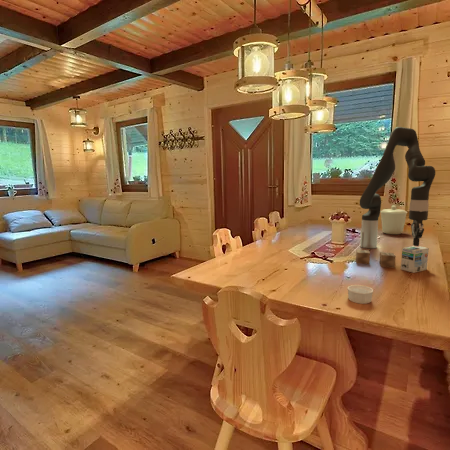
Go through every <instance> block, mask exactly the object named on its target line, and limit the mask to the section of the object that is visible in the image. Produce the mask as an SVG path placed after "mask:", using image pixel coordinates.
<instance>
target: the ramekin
mask: <svg viewBox="0 0 450 450" xmlns="http://www.w3.org/2000/svg"><path fill="white" fill-rule="evenodd" d="M373 293H374V289H373V288H372V287H370V286H367V285H362V284H352V285H349V286H347V297H348V300H350V301H351V303H352V302H353V303H356V304H360V305H362V304H363V305H366V304H367V305H368V304H370V303H371V302H372V300H373Z"/></svg>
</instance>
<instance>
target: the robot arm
mask: <svg viewBox="0 0 450 450" xmlns="http://www.w3.org/2000/svg"><path fill="white" fill-rule="evenodd" d="M386 144H387V145H386V147H385V149H384V152H383V153H382V155H381V158H380V160H379V162H378V164H377V166H376V168H375V170H374V173H373V175H372V176H371V178H370V181H369V183H368V184H367V187H366V188H365V189H364V190H363V193H362V195H361V196H360V199H359V206H360V208H361V209H363V210H368V211H367V212H365V213H363V214H362V216H361V229H360V239H359V242H360V243H359V245H360V248H364V249H376V248H377V246H378V245H377V244H378V231H379V229H378V228H379V217H380V216H381V212H380V211H381V210H382V208H381V207H382V198H381V195H380V194H378V193H377V192H378V191H379V190H380V189H381V188H382V187H384V186H385V185H386V184H387V183H388V182H389V181H391V180H390V179H391V178H392V176H393V175H394V174H395V173H394V172H395V170H396V162H395V157H394V154H395V153H394V152H395V149H396V147H397V146H401V147H407V148H408V149H407V151H406V152H405V154H404V158H405V161H406V164H407V166H408V167H407V168H408V173H407V177H408V179H409V180H410V181H411V182H413V183H415V182H417V183H418V182H422V184H421V185H419V186H414V187H411V191H410V201H409V210H408V219H409V220H411V221H412V222H411V225H410V228H411V235H412V238H413V239H412V240H413V241H412V246H420V239H422V237H423V233H424V231H425V228H424V223H423V221H427V220H428V218H429V216H428V215H429V207H430V206H429V205H430V204H429V197H430V189H431V187H432V184H433V182H434V179H435V176H436V172H437V171H436V169H435V167H434V166H432V165H426V160H425V158H424V156H423V154H422V152H421V150H420V143H419V139H418V134H417V131H416V129H413V128H409V127H402V126H396V127H395V128H394V129H393V130H392V132H391V134H390V136H389V139H388V141H387V143H386Z"/></svg>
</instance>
